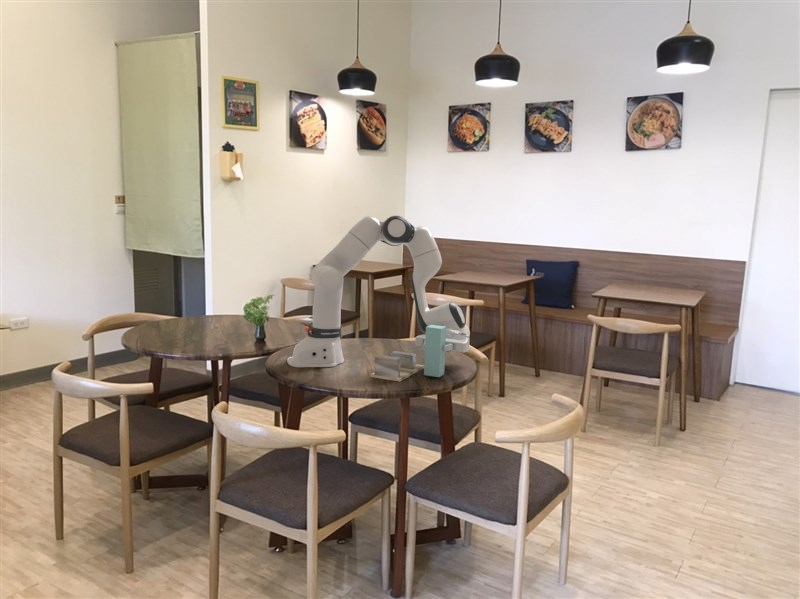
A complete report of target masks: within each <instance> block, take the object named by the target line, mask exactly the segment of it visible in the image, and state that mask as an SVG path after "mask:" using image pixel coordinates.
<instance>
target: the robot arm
mask: <svg viewBox="0 0 800 599" xmlns="http://www.w3.org/2000/svg"><path fill="white" fill-rule="evenodd" d="M379 242H381V243H384V244H386V245H388V246H392V247H398V246H401V245H404V246H406V247H407V249H408V250H409V252H410V255H411V258H412V261H413V272H412V273H411V275H410V281H411V282H410V283H411V288H412V289H411V290H412V295H413V298H414V303H415V304H414V305H415V310H416V317H417V319H416V320H417V326H418V329H419V330H420V331H421V333H423V334H419V335H417V336H415V339H414V340H415V342H414V344H415V346H417V347H421V348H424V349H425V335H426V327H427V326H429V325H438V326H446V343H445V345H443V346H442V350H443V351H445V353H450V352H453V353H454V352H456V353H467V352H469V349H470V335H471V332H470V328H469V326H468V325H467V324H466V321H467V320H466V316H465V312H464V311H463V308H462V307H461V306H460V305H459V304H458V303H456V302H454V301H450V302H446V303H443V304H441V305H438V306H434V307H433V308H429V304H428V299H427V294H426V285H427V284H428V282H429V281H430V280H431V279H432V278H434V277H435V275H436V274H438V272H439V271H440V269H441V267H442V264H443V258H442V255H441V252H440V250H439V247H438V244H437V241H436V239H435V238H434V236H433V234H432V233H431V230H430V229H429V228H428V227H426V226H420V225H419V226H416V227H415V226H414V225H413V224H412V223H411V222H409V221H408V220H407V219H406V218H404V217H403V216H400V215H391V216H389V217H388V218H387V219H385V220H384V221H380V220H379V219H378V218H376V217H374V216H371V215H367V216H364V217H363V218H362V219H360V220H359V221H358V222H357V223H356V224H354V225H353V226H352V227H351V228H350V229H349V231H348V232H347V233H346V234H345V235H344V237H343V238H341V240H340V241H339V242H338V243H337V244H336V246H334V248H333V249H331V251H329V252H328V253H327V254H325V256H324V257H323V258H322V259H321V260H320V261H318V263H317V264H316V265H315V266H314V267H313V269H312V270H311V273H310V280H311V282H312V284H313V286H314V294H313V303H312V304H313V305H312V325H311V326H310V327H309V326H308V325H306V326H305V327H304V331H305V332H306V333H307V336H306V337H304V338H303V339H301V341H299V342H298V343H297V344H295V346H294V349H293V353H292V356H289V357H288V358H287V359H286V360H287V361H286V363H287V364H288V365H289V366H290V367H293V368H333V367H336V366H337V365H340V364H342V363H344V362H345V359H344V354H343V349H342V336H343V334H342V333H343V329H342V324H341V321H342V320H341V318H342V316H341V312H342V311H341V310H342V300H343V292H344V282H345V280H344V277H345V276H346V275H347V274H348V273H349V272H351V270H352V269H354V268H355V267H357V266H358V265H359V264H360V262H361V261H362V260H363V258H364V257H366V255H367V254H368V253H369V252H370V250H371V249H372V248H373V247H375V245H376V244H377V243H379Z"/></svg>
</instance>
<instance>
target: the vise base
mask: <svg viewBox="0 0 800 599" xmlns="http://www.w3.org/2000/svg"><path fill="white" fill-rule="evenodd" d="M400 360H401V358H399V357H392V356H390V355H384V354H377V355H375V356H374V372H372V373H370V378H374V379H382V380H387V381H388V380H389V381H395V382H400V383H401V382H402V381H404V380H406V379H407V378H409V377H410V376H413V375H414V374H417V373H418V372H419V370H420V371H421V370H424V364H417V363H416V367H415V368H413V369H411V368H404V367H400Z"/></svg>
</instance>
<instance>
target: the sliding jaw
mask: <svg viewBox="0 0 800 599" xmlns="http://www.w3.org/2000/svg"><path fill="white" fill-rule="evenodd" d="M390 355H391V356H392V357H399V358H401V360H400V367H404V368H411V369H413V368H415V367H416V364H417V354H416V353H414V352H413V353H412V352H406V351H405V352H404V351H399V350H394V351H392V352H391V354H390Z"/></svg>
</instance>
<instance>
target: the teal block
mask: <svg viewBox="0 0 800 599" xmlns="http://www.w3.org/2000/svg"><path fill="white" fill-rule="evenodd" d="M445 343H446V326H438V325H429V326H427V327H426V335H425V348H424V364H423V365H424V368H423V375H424V376H428V377H434V378H435V377H436V378H440V377H441V376H444V375H445V363H446V362H445V361H446V352H445V351H443V350H442V346H443V345H445Z"/></svg>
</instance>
